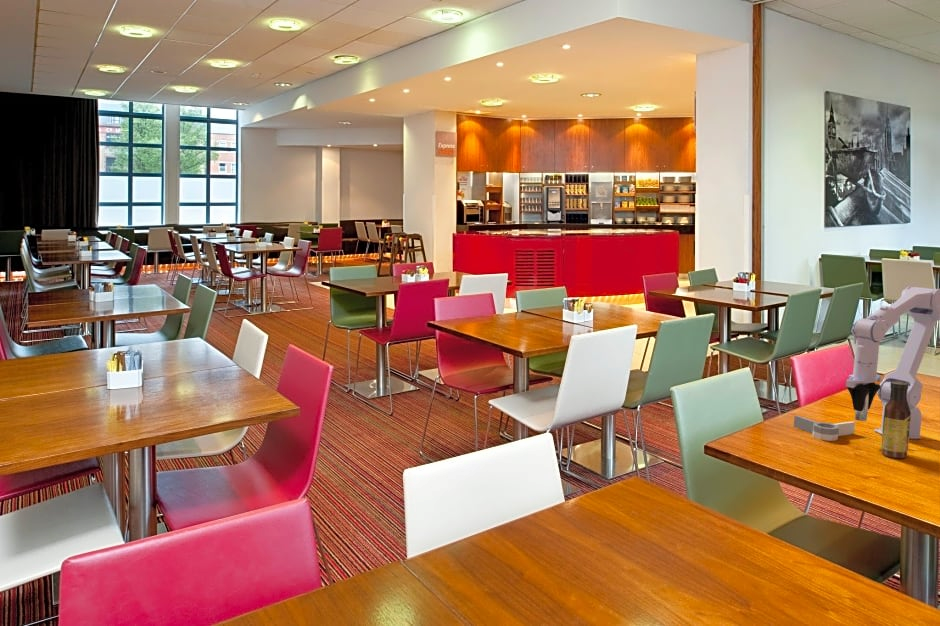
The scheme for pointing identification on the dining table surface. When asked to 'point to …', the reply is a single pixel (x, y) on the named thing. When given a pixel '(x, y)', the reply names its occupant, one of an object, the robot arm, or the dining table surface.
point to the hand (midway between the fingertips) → (861, 409)
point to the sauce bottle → (896, 422)
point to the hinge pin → (863, 411)
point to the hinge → (824, 428)
